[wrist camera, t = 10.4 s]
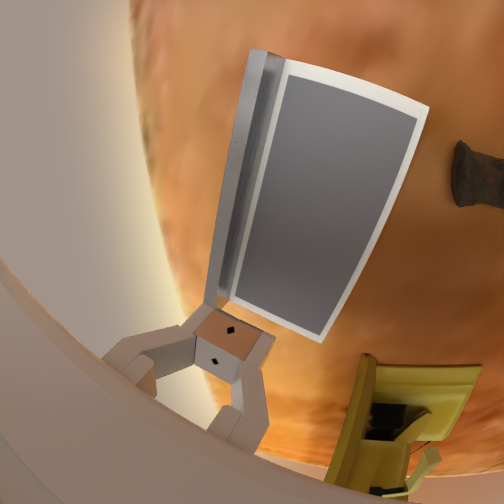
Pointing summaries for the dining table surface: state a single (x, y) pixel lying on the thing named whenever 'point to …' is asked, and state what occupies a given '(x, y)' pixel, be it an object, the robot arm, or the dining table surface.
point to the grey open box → (306, 189)
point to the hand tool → (477, 178)
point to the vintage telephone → (397, 424)
